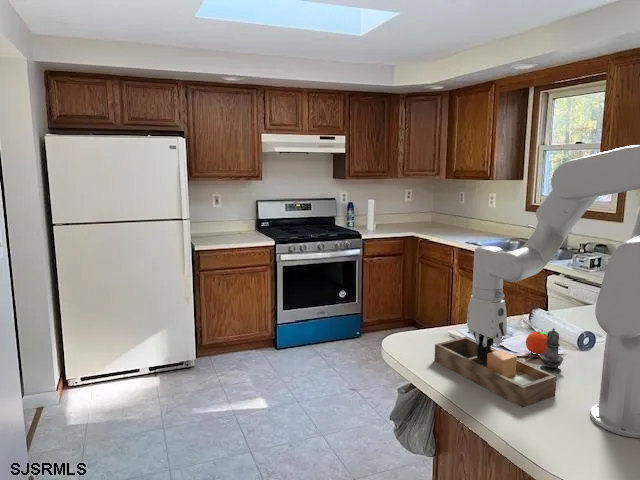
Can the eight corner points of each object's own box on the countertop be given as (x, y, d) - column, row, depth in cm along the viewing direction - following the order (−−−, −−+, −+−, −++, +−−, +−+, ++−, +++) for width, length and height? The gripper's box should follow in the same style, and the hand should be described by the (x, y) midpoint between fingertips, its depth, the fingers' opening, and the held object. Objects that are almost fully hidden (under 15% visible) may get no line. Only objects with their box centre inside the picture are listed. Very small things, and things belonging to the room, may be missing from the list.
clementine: (551, 351, 143) (553, 328, 142) (556, 360, 137) (558, 337, 135) (523, 349, 145) (524, 326, 144) (527, 358, 138) (528, 335, 137)
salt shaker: (565, 375, 128) (568, 332, 126) (541, 373, 129) (545, 331, 127) (558, 365, 133) (562, 325, 131) (536, 364, 134) (539, 323, 132)
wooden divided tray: (555, 395, 117) (556, 376, 116) (522, 407, 111) (523, 387, 110) (465, 352, 143) (465, 336, 142) (434, 360, 137) (435, 344, 136)
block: (515, 374, 123) (516, 356, 122) (502, 378, 120) (503, 360, 119) (500, 367, 127) (501, 349, 126) (486, 371, 125) (487, 353, 124)
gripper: (520, 298, 121) (516, 365, 124) (475, 284, 134) (472, 346, 137) (499, 302, 117) (495, 372, 120) (456, 288, 130) (453, 351, 133)
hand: (483, 358), depth 128 cm, fingers closed
